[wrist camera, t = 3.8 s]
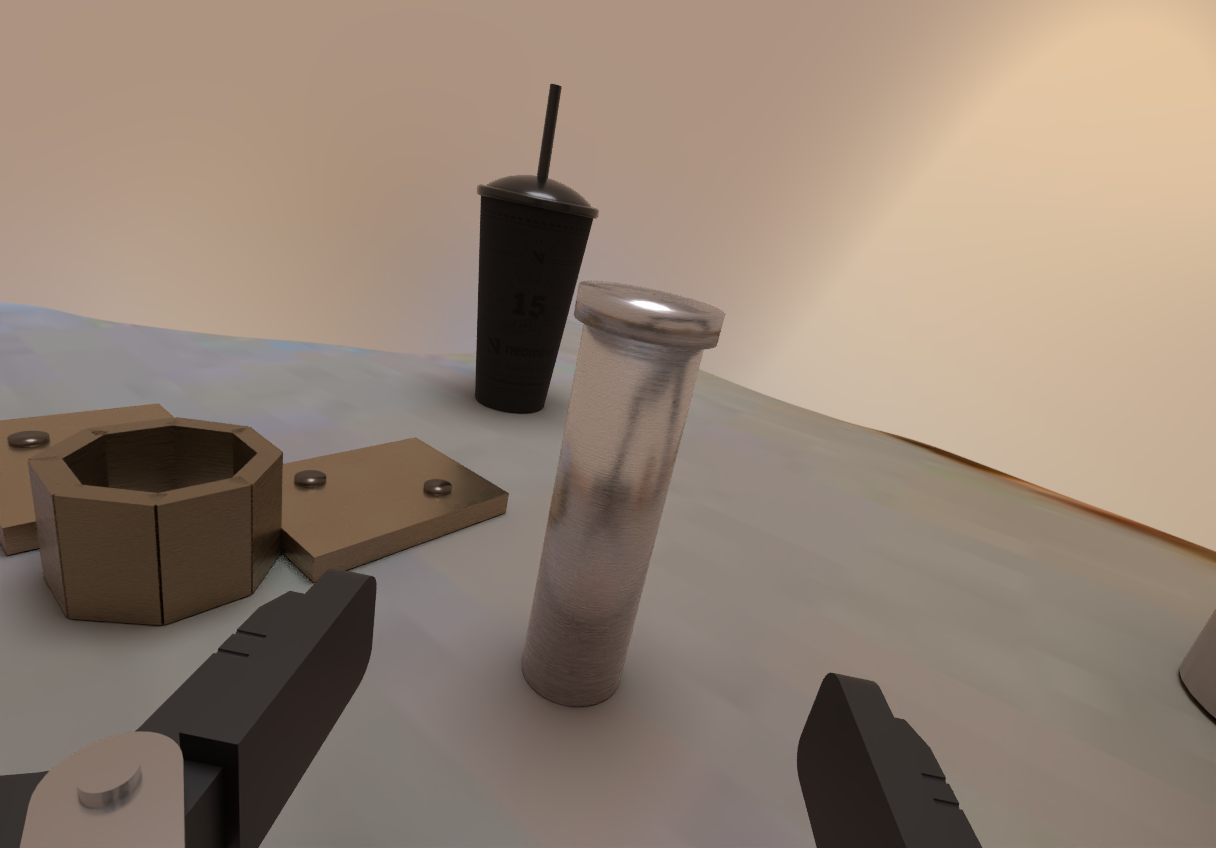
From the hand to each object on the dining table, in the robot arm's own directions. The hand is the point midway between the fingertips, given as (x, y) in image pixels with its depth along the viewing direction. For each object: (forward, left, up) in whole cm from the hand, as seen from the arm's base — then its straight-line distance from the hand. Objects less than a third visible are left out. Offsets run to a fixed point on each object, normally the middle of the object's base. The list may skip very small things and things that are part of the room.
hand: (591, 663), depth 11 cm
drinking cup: (-22, -24, -7) cm, 33 cm away
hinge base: (-3, -20, -7) cm, 22 cm away
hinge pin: (-6, -4, -7) cm, 10 cm away
